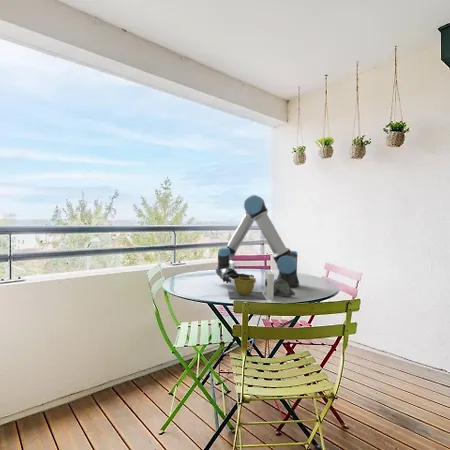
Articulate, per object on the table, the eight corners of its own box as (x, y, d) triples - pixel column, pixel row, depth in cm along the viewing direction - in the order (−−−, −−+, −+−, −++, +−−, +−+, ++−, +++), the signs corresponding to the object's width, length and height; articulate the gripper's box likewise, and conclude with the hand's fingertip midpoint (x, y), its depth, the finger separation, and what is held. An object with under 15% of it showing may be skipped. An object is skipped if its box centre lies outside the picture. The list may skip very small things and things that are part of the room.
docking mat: (261, 293, 198) (261, 291, 198) (265, 299, 184) (265, 297, 184) (228, 292, 197) (228, 291, 197) (229, 299, 183) (229, 297, 183)
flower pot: (242, 291, 197) (243, 276, 196) (255, 294, 191) (255, 278, 191) (233, 294, 190) (234, 278, 190) (246, 297, 184) (246, 281, 184)
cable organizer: (234, 279, 238) (235, 262, 238) (220, 279, 237) (220, 262, 236) (231, 275, 253) (231, 259, 253) (217, 275, 252) (217, 259, 251)
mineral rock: (296, 298, 189) (296, 280, 188) (279, 299, 185) (280, 281, 185) (284, 292, 201) (285, 276, 201) (268, 294, 197) (269, 277, 197)
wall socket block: (269, 293, 197) (270, 270, 197) (273, 299, 185) (274, 274, 185) (263, 293, 197) (264, 270, 197) (267, 299, 185) (267, 274, 185)
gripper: (247, 279, 215) (263, 286, 195) (210, 281, 205) (224, 289, 185) (247, 267, 214) (263, 273, 195) (211, 269, 204) (224, 276, 185)
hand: (244, 281), depth 190 cm, fingers open, 13 cm apart
